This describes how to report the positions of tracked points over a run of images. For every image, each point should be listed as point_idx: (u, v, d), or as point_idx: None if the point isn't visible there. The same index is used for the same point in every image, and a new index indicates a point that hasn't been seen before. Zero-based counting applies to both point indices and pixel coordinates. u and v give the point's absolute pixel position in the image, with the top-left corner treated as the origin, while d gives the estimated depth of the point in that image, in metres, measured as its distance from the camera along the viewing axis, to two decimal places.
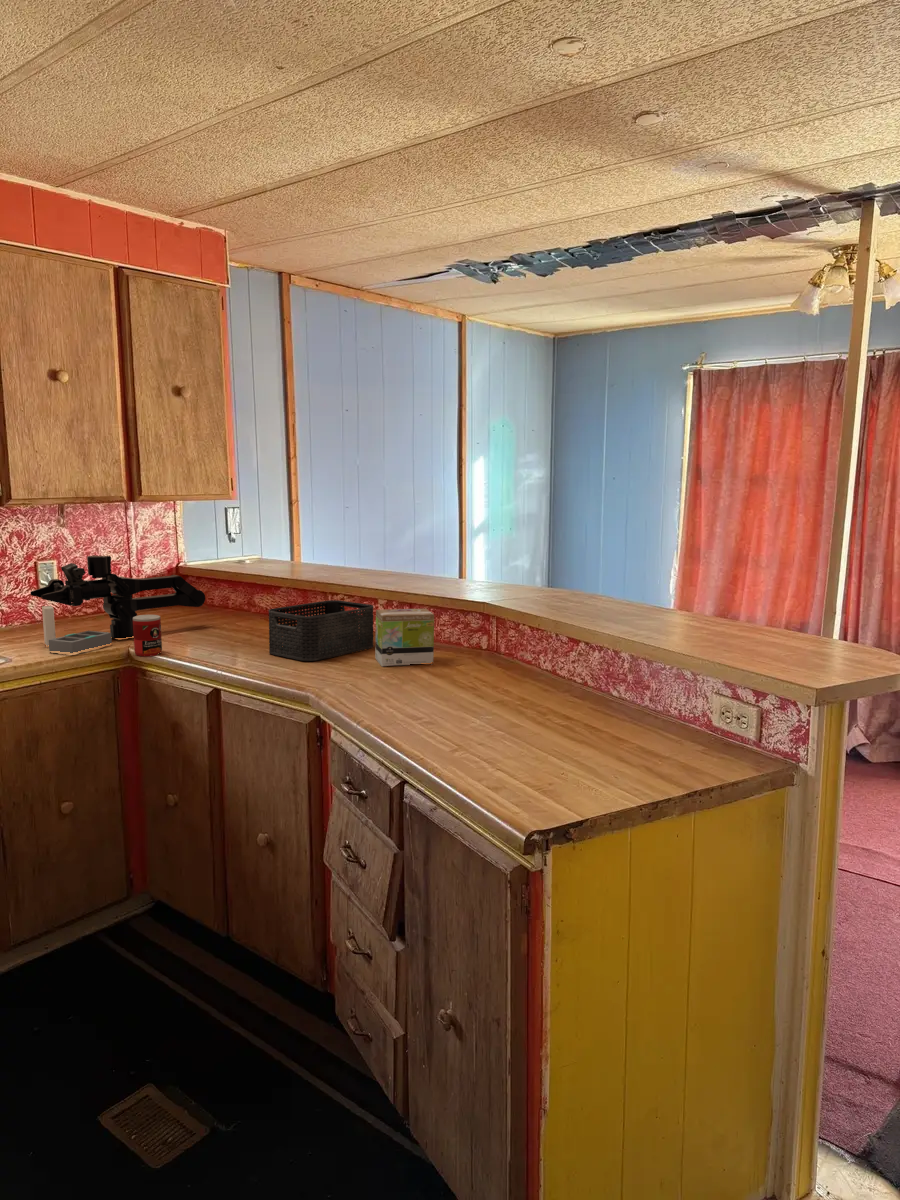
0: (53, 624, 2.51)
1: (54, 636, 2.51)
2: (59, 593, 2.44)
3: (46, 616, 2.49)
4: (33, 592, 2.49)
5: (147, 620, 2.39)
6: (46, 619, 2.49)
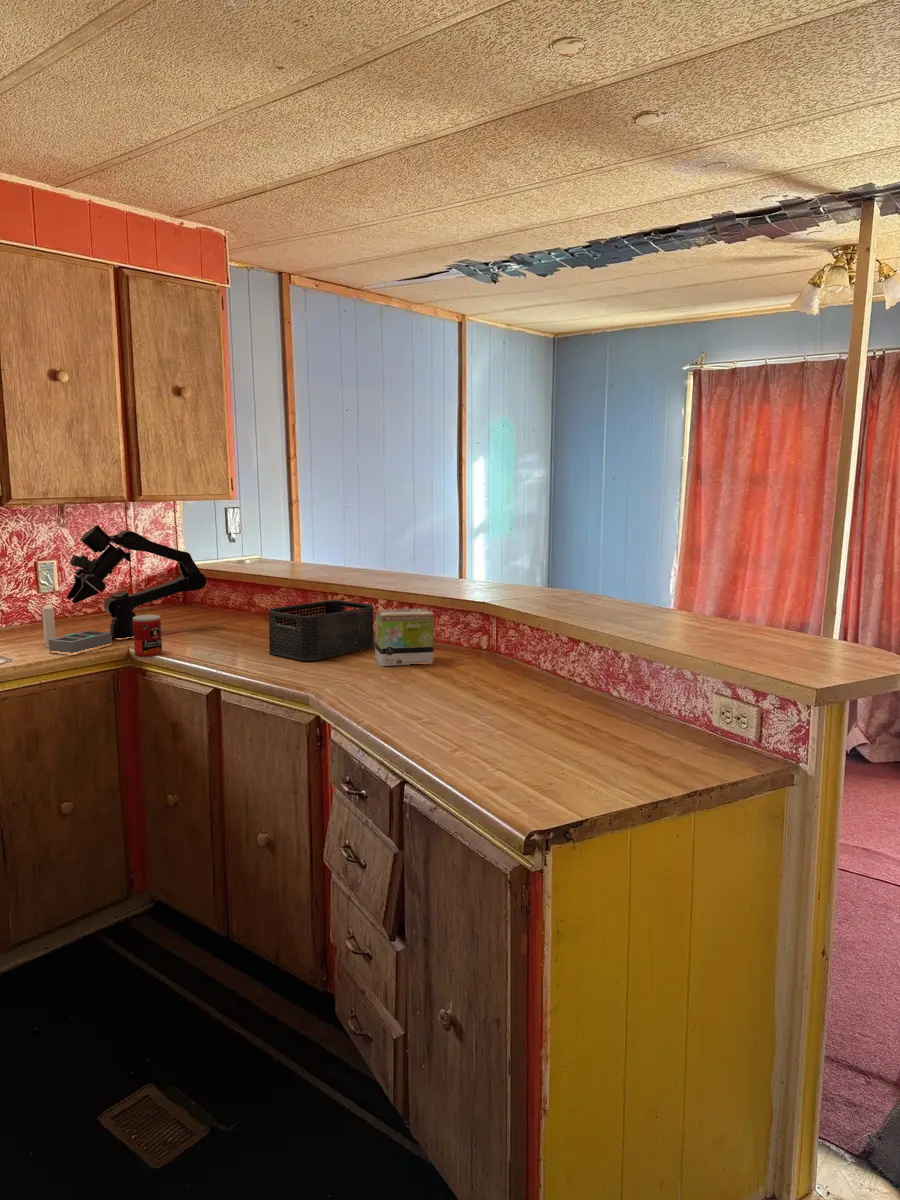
0: (53, 624, 2.51)
1: (54, 636, 2.51)
2: (82, 590, 2.51)
3: (46, 616, 2.49)
4: (68, 596, 2.58)
5: (147, 620, 2.39)
6: (46, 619, 2.49)
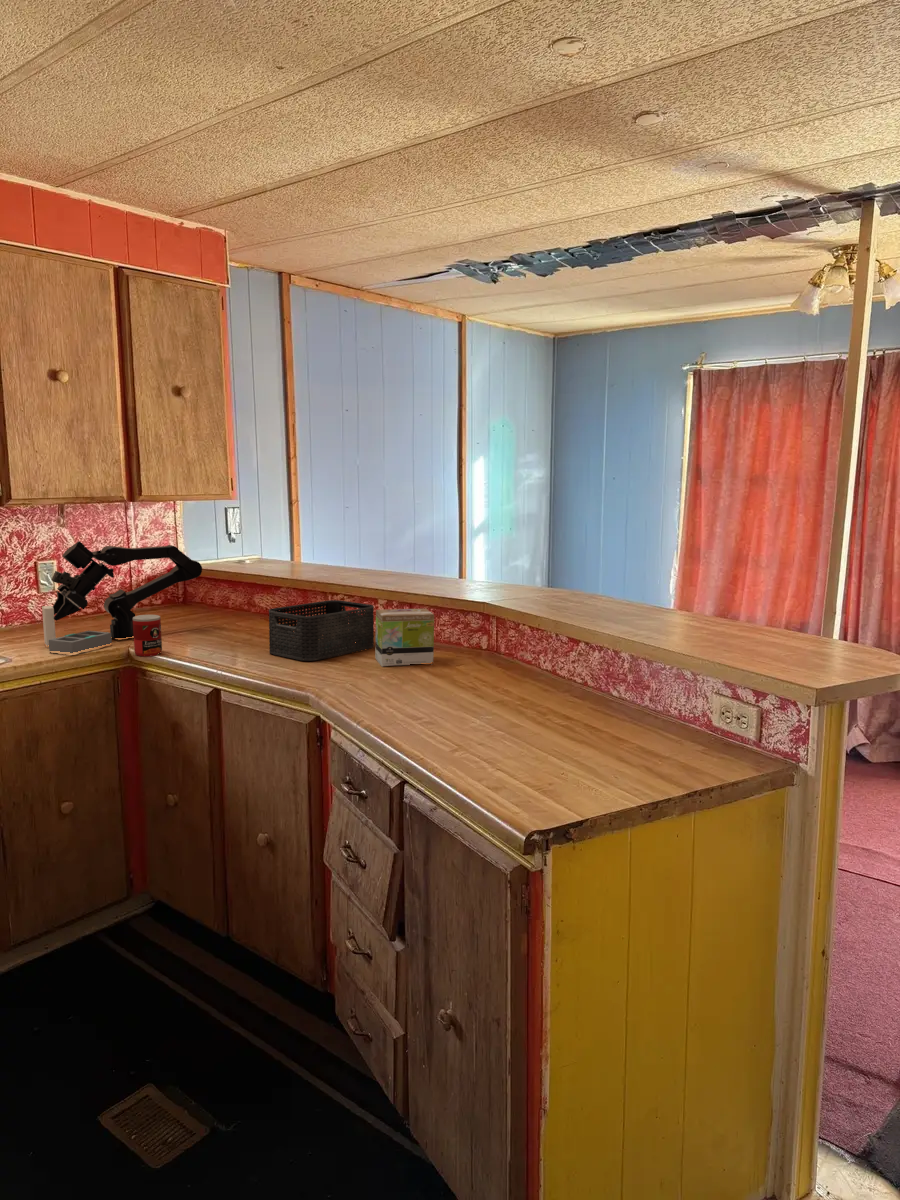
0: (53, 624, 2.51)
1: (54, 636, 2.51)
2: (64, 607, 2.49)
3: (46, 616, 2.49)
4: None
5: (147, 620, 2.39)
6: (46, 619, 2.49)
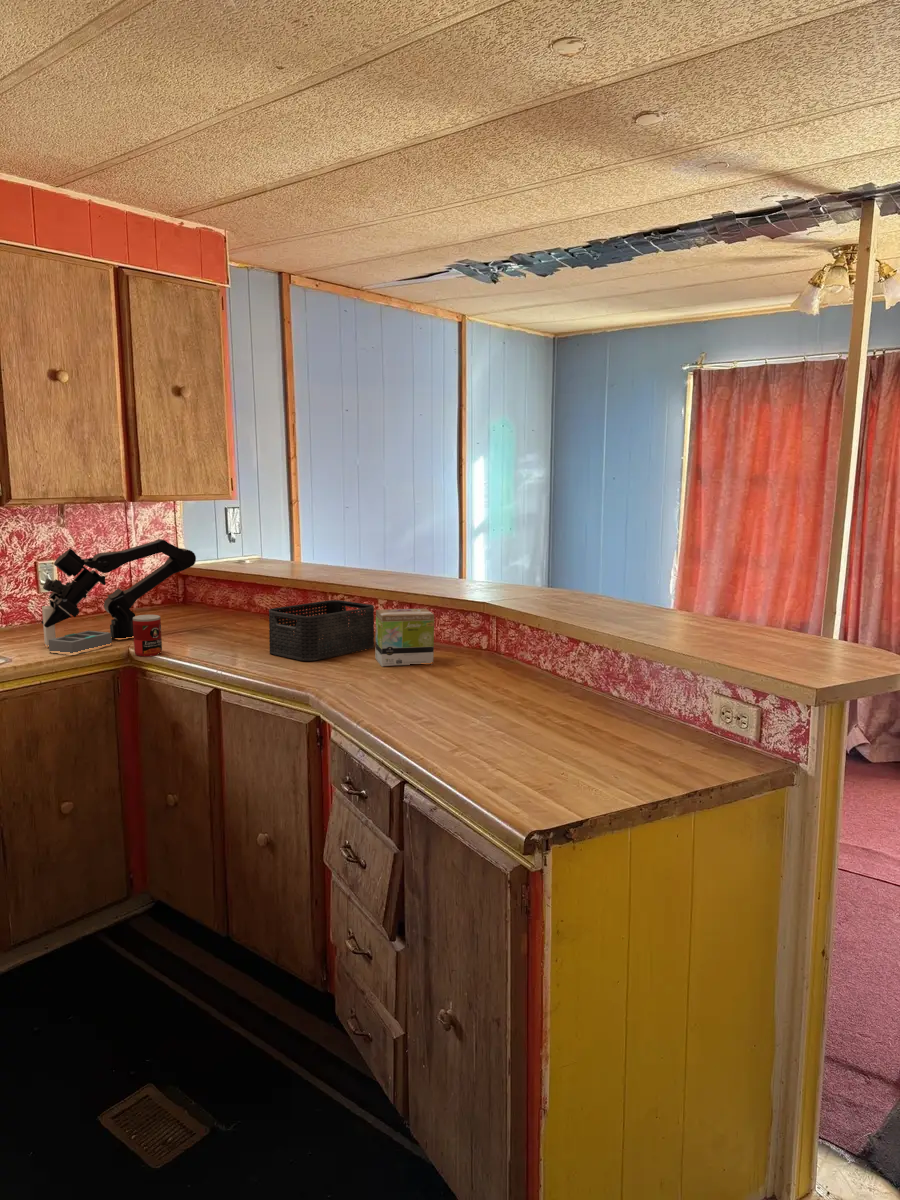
0: None
1: (54, 636, 2.51)
2: (55, 614, 2.49)
3: (46, 616, 2.49)
4: None
5: (147, 620, 2.39)
6: (46, 619, 2.49)
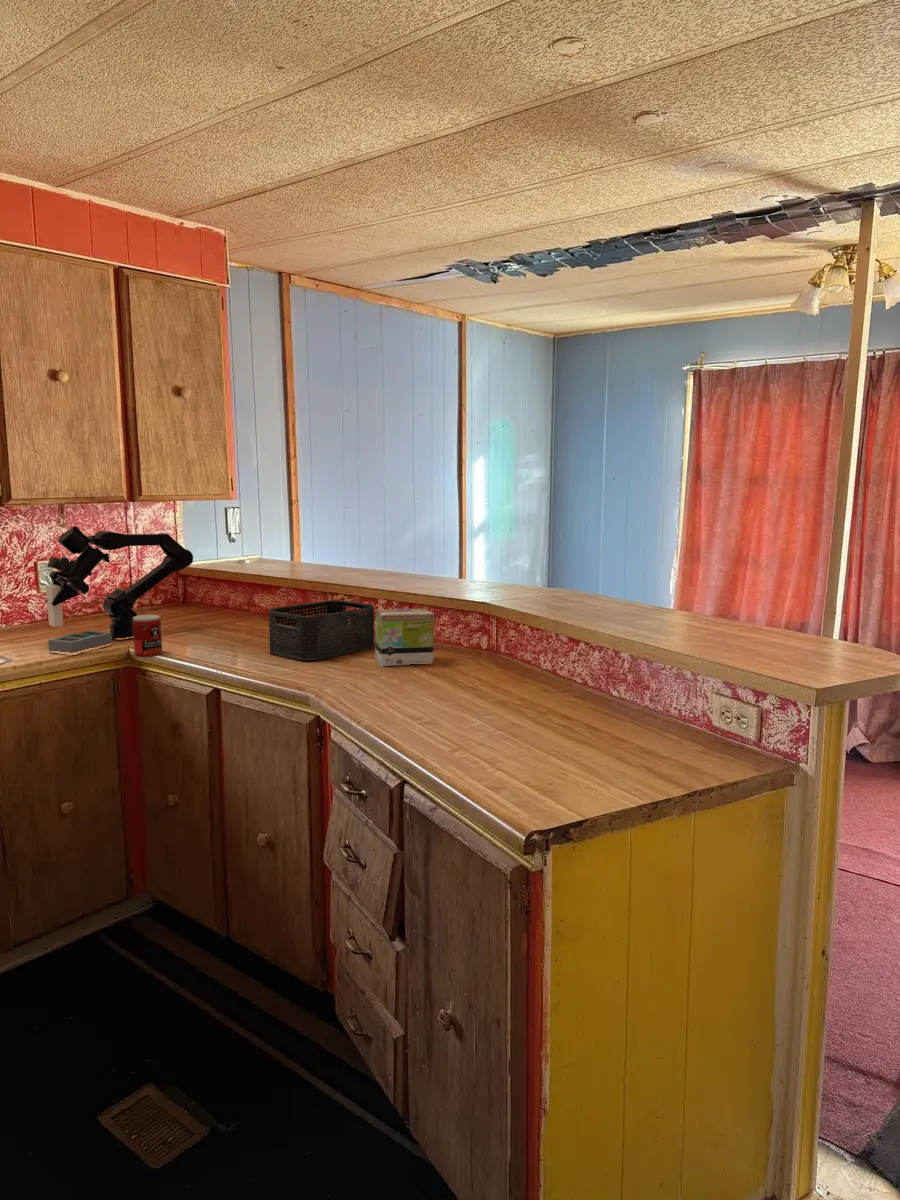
0: None
1: (61, 614, 2.49)
2: (62, 592, 2.47)
3: (53, 595, 2.46)
4: None
5: (147, 620, 2.39)
6: (53, 597, 2.47)
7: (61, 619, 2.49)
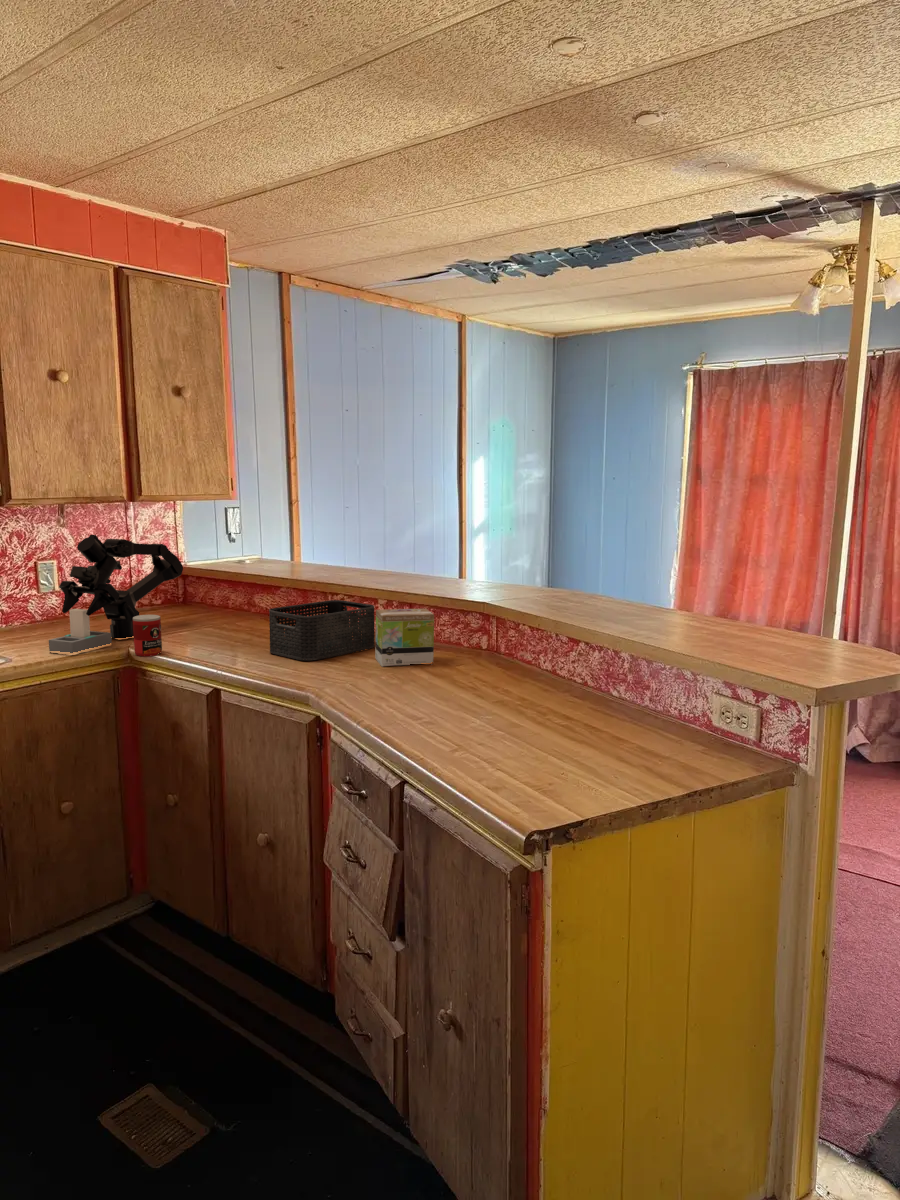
0: (88, 626, 2.48)
1: None
2: (97, 601, 2.46)
3: (83, 618, 2.46)
4: (64, 610, 2.48)
5: (147, 620, 2.39)
6: (83, 621, 2.46)
7: None
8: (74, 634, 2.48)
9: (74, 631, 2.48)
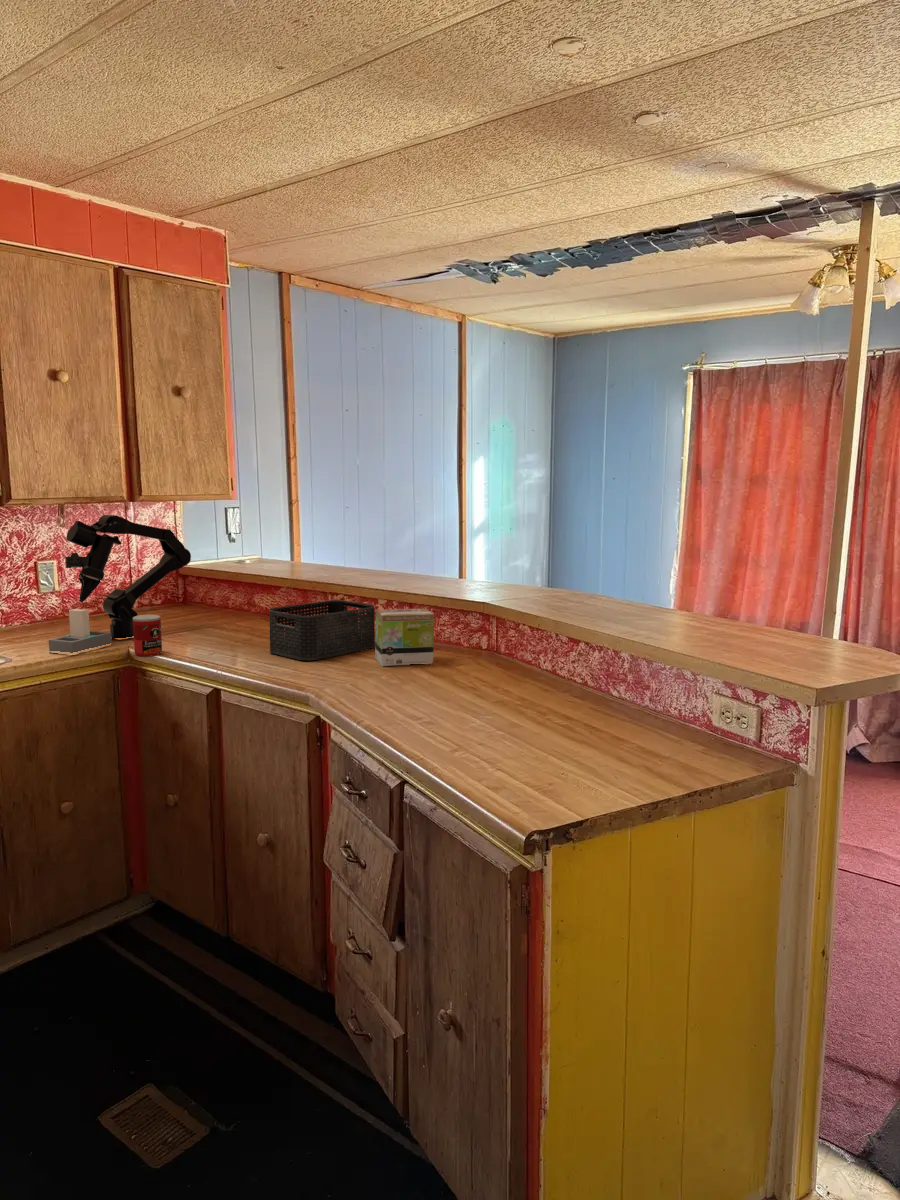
0: (88, 626, 2.48)
1: None
2: (85, 585, 2.49)
3: (83, 619, 2.46)
4: (80, 599, 2.57)
5: (147, 620, 2.39)
6: (83, 621, 2.46)
7: None
8: (74, 634, 2.48)
9: (74, 631, 2.47)
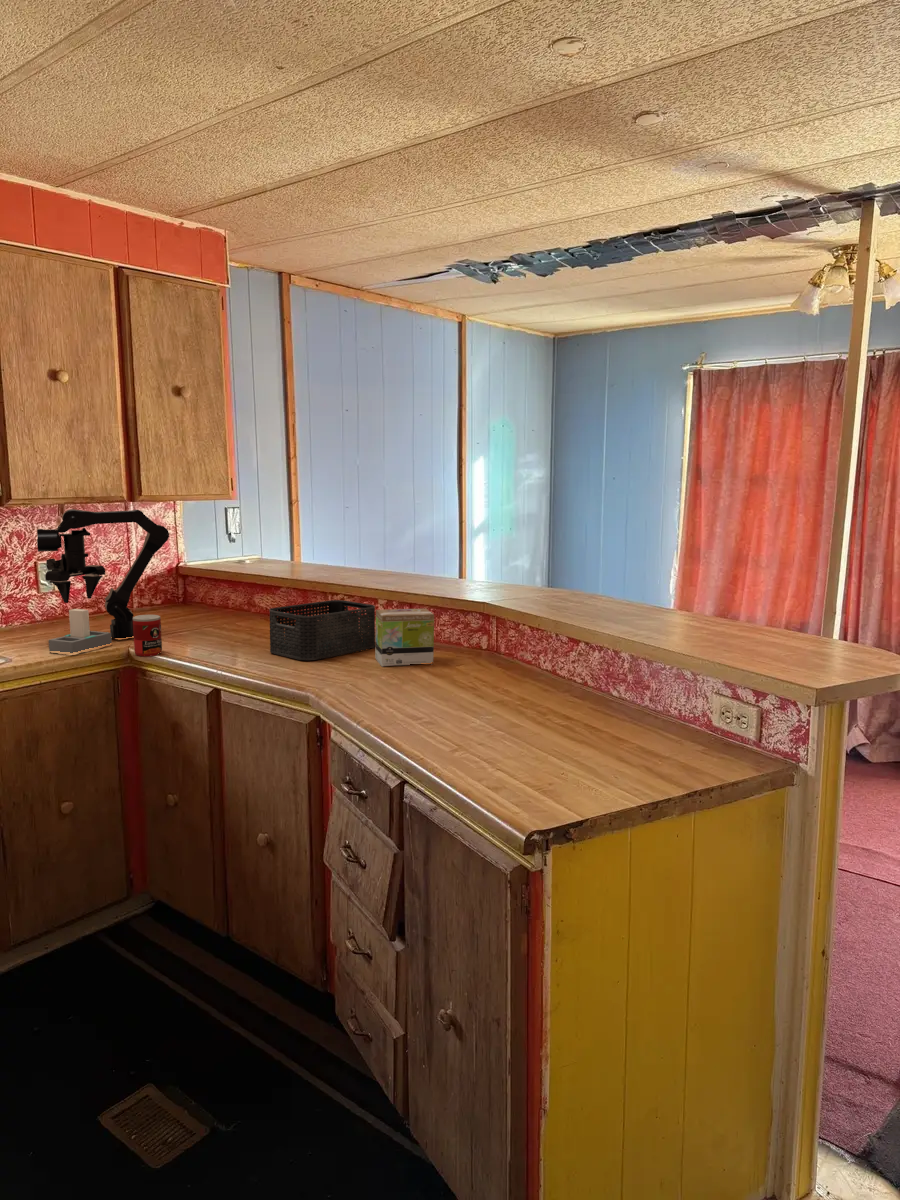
0: (88, 626, 2.48)
1: None
2: (59, 588, 2.52)
3: (83, 619, 2.46)
4: (87, 596, 2.62)
5: (147, 620, 2.39)
6: (83, 621, 2.46)
7: None
8: (74, 634, 2.48)
9: (74, 631, 2.47)
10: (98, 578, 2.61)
